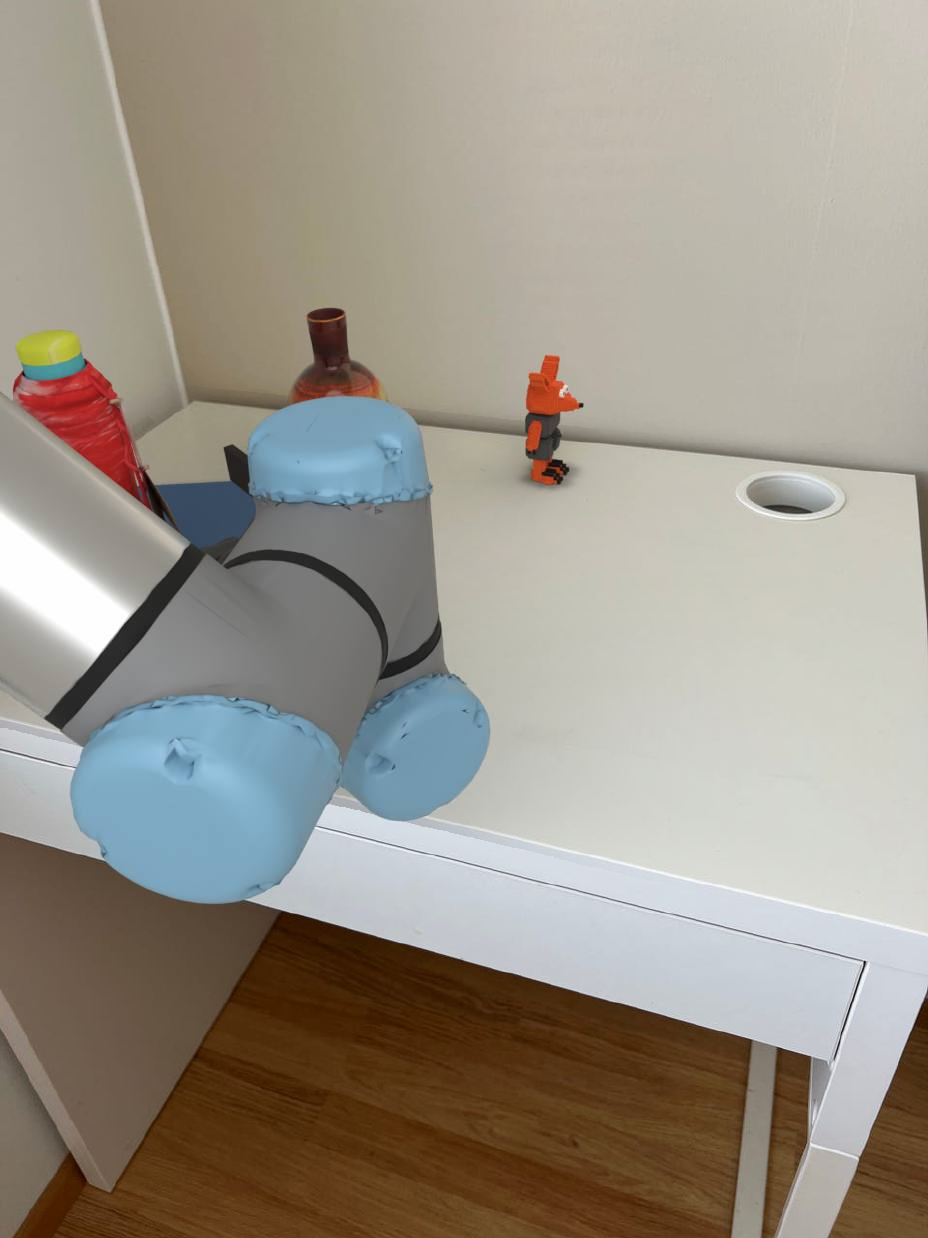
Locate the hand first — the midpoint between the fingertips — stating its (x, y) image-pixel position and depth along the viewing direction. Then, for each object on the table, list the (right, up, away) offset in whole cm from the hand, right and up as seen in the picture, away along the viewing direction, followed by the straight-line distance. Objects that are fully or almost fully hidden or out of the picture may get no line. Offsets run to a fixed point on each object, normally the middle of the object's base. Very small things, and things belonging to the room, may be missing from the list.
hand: (144, 490), depth 72 cm
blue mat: (-3, 0, +29) cm, 29 cm away
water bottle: (-5, -9, +16) cm, 19 cm away
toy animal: (+33, +6, +33) cm, 47 cm away
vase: (+9, +10, +41) cm, 43 cm away
